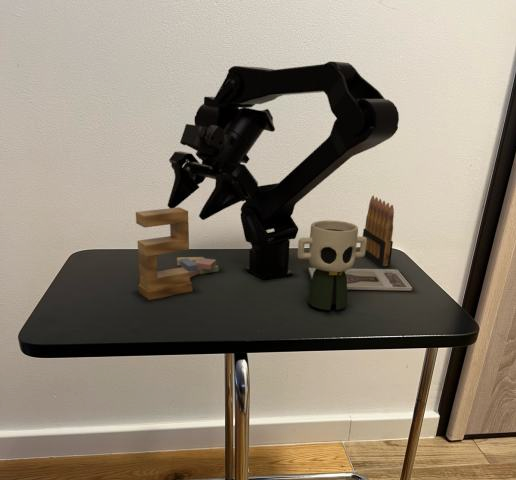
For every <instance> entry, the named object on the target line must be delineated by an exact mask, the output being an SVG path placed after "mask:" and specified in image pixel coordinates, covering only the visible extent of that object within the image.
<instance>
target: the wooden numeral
mask: <svg viewBox="0 0 516 480" xmlns="http://www.w3.org/2000/svg"><path fill="white" fill-rule="evenodd" d="M135 222H136V223H135V224H137V225H139V226H140V227H143V228H145V229H146V228H153V227H159V226H167V225H168V226H169V231H170V233H169V235H167V236H161V237H153V238H147V239H146V238H145V239H139V240H137V252H138V253H137V254H138V270H139V283H138V284H137V289H138V294H140V295H141V296H142V297H143V298H145V299H146V300H148V301H152V300H156V299H162V298H166V297H172V296H177V295H181V294H187V293H192V292H193V291H194V289H193V282H191V277H190V272H188V271H187V270H185V269H183V268H181V267H182V266H180V267H175V268H170V269H164V270H159V271H158V257H157V256H158V255H165V254H171V253H177V252H184V251H190V239H189V238H190V227H189V210H187V209H184V208H183V207H179V206H176V207H175V208H169V207H168V208H159V209H151V210H144V211H143V210H142V211H141V210H140V211H135Z"/></svg>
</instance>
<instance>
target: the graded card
mask: <svg viewBox="0 0 516 480" xmlns="http://www.w3.org/2000/svg"><path fill="white" fill-rule="evenodd" d="M315 270H316V268H314V267H308V273H309V275H310V279H311V280H312V277H313V273H314V271H315ZM345 274H346V277H347V290H360V291H361V290H362V291H406V292H407V291H409V292H410V291H412V290H413V287H412V285H411V284H410V283H409V282H408V281H407V280H406V278H405V277H404V276H403V275H402V274H401V272H400V271H399V270H398V269H391V268H390V269H389V268H388V269H387V268H350V269H349V270H346V271H345Z"/></svg>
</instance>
